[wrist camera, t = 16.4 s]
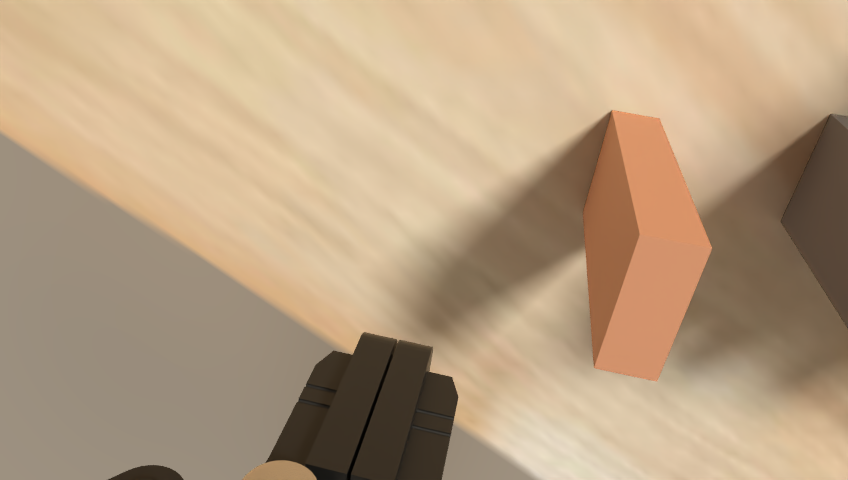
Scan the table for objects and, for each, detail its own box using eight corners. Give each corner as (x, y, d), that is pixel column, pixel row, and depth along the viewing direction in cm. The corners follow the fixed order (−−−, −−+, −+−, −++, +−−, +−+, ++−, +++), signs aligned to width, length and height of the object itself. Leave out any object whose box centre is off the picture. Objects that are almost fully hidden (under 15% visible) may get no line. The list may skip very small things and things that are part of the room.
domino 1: (582, 212, 30) (593, 368, 21) (612, 110, 28) (639, 234, 18) (625, 221, 30) (656, 381, 21) (659, 118, 28) (712, 248, 18)
